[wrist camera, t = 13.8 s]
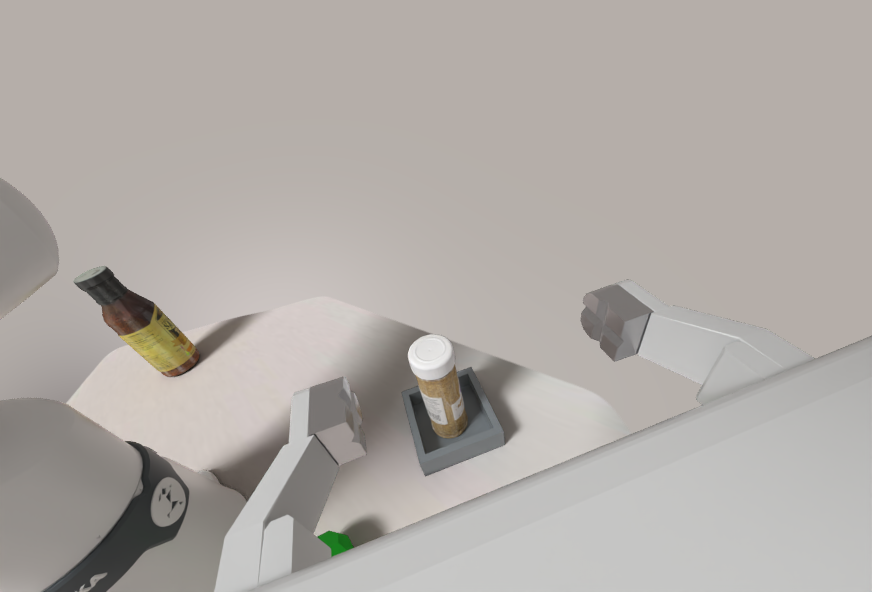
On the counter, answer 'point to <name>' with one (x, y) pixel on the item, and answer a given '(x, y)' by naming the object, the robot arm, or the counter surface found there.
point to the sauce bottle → (139, 323)
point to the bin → (472, 442)
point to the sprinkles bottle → (439, 384)
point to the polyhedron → (336, 542)
